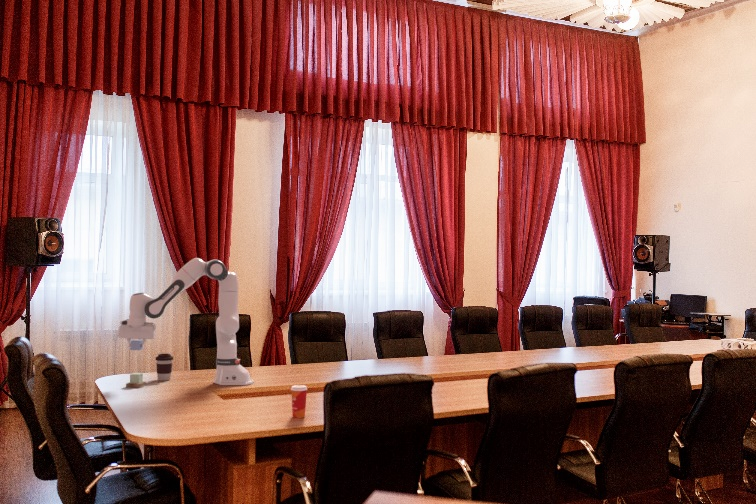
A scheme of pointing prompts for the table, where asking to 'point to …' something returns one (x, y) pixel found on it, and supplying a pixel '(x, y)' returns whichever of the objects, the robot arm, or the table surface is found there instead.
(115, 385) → the table surface
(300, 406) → the paper cup
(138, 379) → the green block
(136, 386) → the baseplate
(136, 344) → the blue block
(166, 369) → the coffee cup
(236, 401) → the table surface
